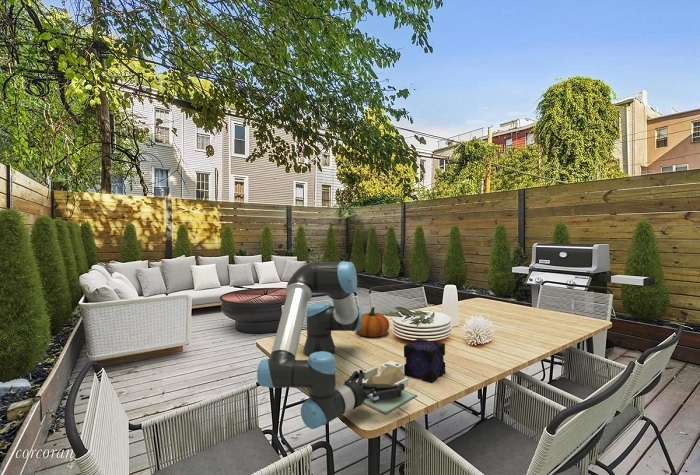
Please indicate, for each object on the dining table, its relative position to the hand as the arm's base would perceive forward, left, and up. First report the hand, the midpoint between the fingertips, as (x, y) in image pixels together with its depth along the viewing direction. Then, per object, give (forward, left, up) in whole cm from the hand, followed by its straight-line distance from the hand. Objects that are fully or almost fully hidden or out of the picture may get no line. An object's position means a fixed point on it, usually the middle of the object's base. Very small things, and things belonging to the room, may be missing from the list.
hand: (391, 376), depth 119 cm
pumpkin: (-54, +50, -7) cm, 74 cm away
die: (-8, +10, -7) cm, 15 cm away
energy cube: (-2, +24, -7) cm, 25 cm away
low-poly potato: (-1, -2, -7) cm, 7 cm away
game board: (-6, -2, -7) cm, 10 cm away
